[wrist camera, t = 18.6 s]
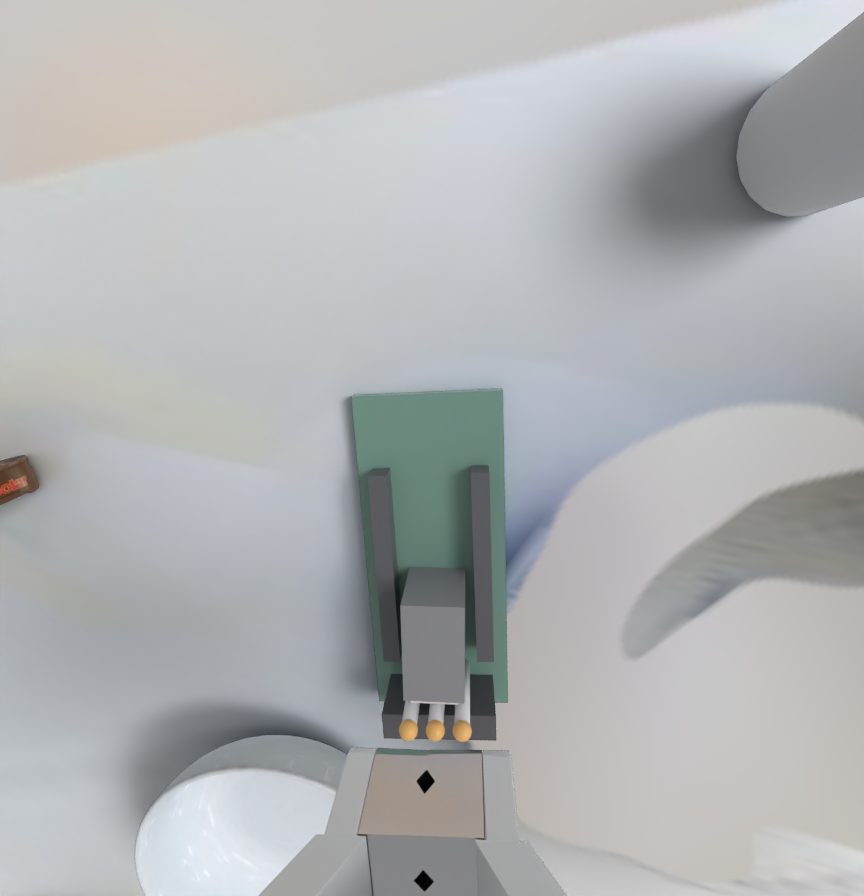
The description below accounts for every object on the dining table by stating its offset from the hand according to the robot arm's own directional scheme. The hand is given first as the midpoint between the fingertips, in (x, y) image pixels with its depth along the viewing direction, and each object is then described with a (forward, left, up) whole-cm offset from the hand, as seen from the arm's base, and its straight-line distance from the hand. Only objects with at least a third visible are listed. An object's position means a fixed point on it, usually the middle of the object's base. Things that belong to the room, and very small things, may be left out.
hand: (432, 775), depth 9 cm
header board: (+2, +8, -25) cm, 26 cm away
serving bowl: (+15, +31, -25) cm, 43 cm away
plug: (+2, +12, -24) cm, 27 cm away
